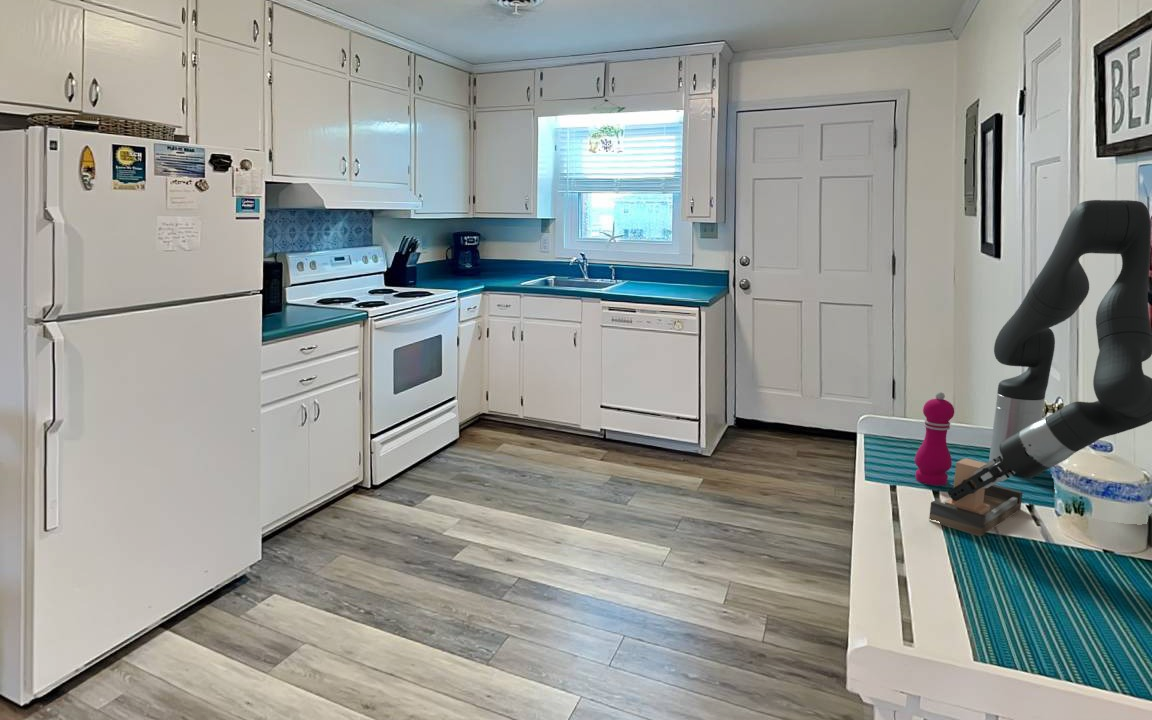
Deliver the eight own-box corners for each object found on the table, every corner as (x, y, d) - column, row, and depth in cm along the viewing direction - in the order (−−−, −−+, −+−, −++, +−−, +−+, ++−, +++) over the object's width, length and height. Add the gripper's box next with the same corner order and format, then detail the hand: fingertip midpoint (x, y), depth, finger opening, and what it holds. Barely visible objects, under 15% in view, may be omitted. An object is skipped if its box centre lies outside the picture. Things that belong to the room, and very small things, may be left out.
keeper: (954, 505, 135) (960, 456, 133) (988, 515, 131) (994, 464, 129) (943, 512, 132) (949, 461, 130) (977, 522, 127) (984, 469, 126)
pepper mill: (954, 487, 149) (964, 396, 146) (917, 484, 151) (927, 394, 147) (943, 476, 156) (953, 389, 153) (909, 473, 158) (917, 387, 154)
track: (971, 496, 145) (973, 479, 144) (1020, 509, 138) (1022, 491, 137) (929, 520, 132) (931, 502, 131) (980, 536, 125) (982, 517, 124)
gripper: (1036, 422, 127) (960, 468, 138) (1007, 436, 118) (928, 484, 129) (1067, 457, 124) (986, 501, 135) (1039, 474, 115) (955, 520, 126)
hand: (958, 492), depth 132 cm, fingers open, 5 cm apart
